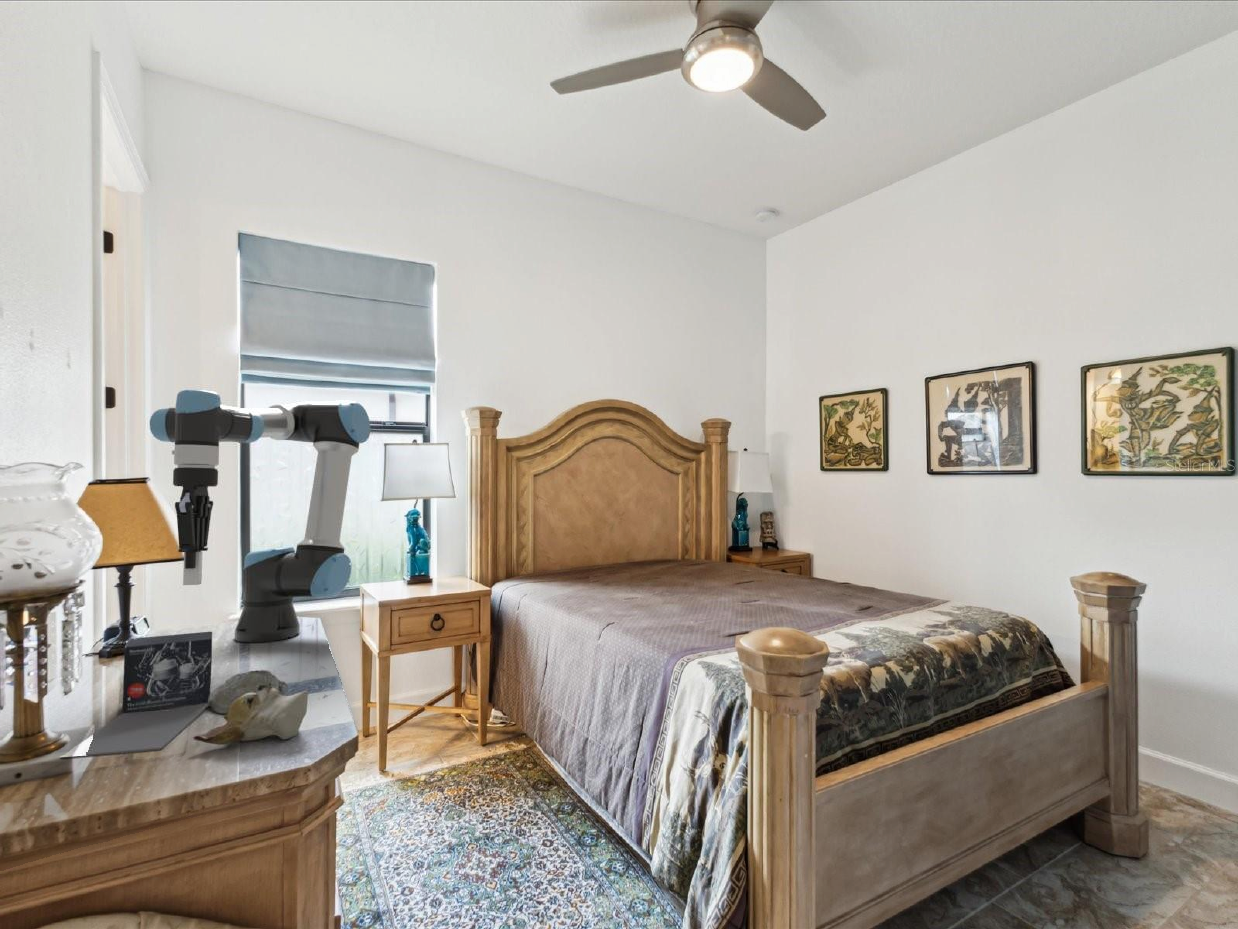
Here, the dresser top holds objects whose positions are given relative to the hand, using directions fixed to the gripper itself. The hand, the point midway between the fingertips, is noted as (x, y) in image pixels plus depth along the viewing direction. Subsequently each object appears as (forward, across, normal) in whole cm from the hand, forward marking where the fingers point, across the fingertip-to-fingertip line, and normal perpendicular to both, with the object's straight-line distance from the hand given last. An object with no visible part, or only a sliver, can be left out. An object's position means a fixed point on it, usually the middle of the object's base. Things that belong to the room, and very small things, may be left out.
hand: (192, 584), depth 126 cm
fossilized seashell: (+21, +13, +15) cm, 29 cm away
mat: (+21, +24, +2) cm, 31 cm away
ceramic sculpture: (+21, +31, +21) cm, 43 cm away
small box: (+21, +10, 0) cm, 23 cm away
